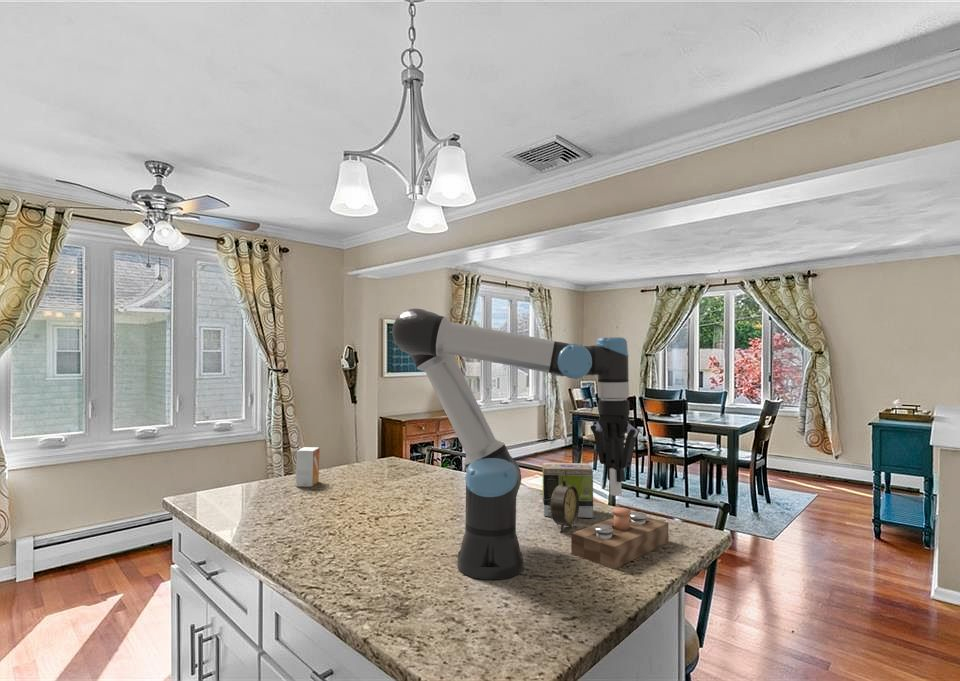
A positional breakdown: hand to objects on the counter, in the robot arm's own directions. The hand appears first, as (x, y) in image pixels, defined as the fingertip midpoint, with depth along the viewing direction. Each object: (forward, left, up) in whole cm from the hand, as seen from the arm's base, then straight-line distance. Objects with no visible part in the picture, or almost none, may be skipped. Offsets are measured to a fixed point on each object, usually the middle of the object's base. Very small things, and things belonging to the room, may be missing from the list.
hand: (615, 494), depth 127 cm
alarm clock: (+5, +20, -15) cm, 25 cm away
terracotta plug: (+4, +1, -10) cm, 11 cm away
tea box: (+17, +28, -15) cm, 36 cm away
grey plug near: (-4, +1, -13) cm, 13 cm away
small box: (-28, +113, -15) cm, 117 cm away
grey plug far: (+12, +1, -13) cm, 17 cm away
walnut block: (+4, +1, -14) cm, 15 cm away
